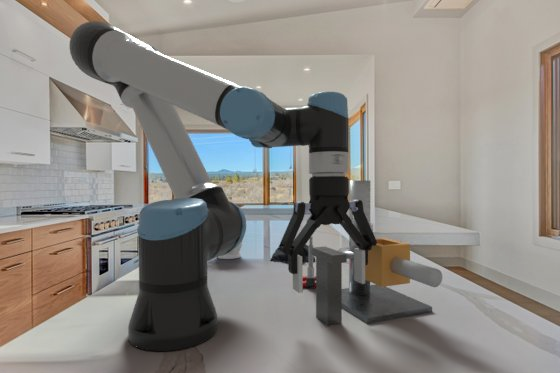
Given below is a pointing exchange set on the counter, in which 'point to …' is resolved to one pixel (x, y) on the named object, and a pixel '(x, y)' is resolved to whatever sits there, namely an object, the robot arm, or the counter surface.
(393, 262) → the bracket head
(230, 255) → the jar
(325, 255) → the wedge
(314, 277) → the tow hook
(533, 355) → the counter surface
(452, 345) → the counter surface
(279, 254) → the dark slate chunk
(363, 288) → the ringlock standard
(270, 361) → the counter surface
